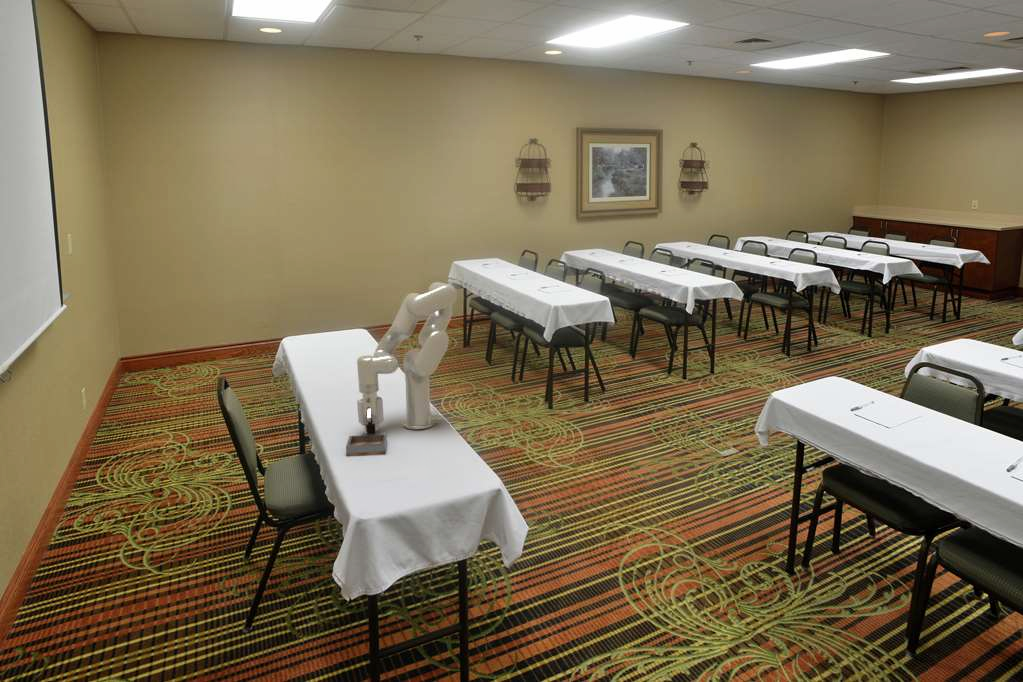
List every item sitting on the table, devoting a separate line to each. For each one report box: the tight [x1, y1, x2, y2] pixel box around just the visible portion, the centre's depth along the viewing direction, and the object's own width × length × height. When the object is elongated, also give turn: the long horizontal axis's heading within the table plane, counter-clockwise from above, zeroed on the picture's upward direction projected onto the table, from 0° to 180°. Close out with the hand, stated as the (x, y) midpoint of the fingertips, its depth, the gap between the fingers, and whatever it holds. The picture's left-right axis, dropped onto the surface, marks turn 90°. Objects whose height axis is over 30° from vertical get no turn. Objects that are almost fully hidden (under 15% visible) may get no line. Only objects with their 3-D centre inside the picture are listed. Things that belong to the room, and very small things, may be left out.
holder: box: [345, 433, 388, 457], centre depth 248 cm, size 14×12×4 cm
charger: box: [356, 396, 384, 435], centre depth 261 cm, size 5×9×15 cm, turn 120°
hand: (371, 430), depth 262 cm, fingers closed on charger, 6 cm apart
